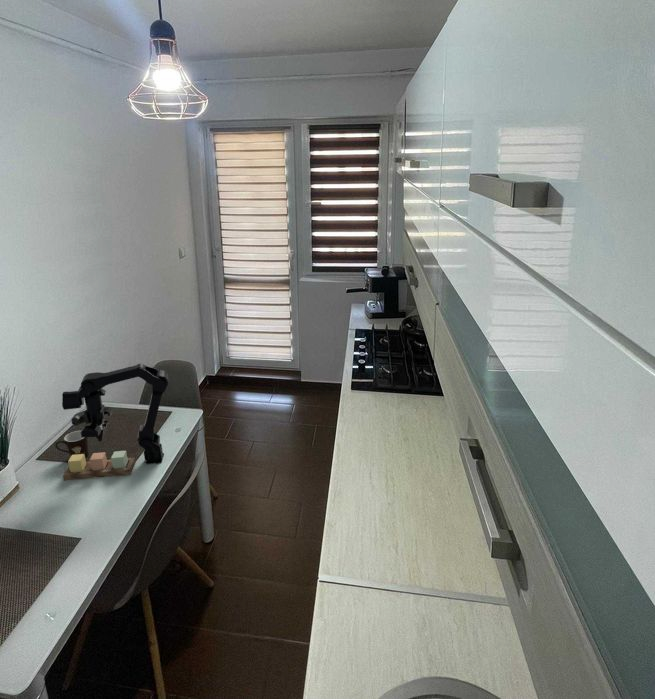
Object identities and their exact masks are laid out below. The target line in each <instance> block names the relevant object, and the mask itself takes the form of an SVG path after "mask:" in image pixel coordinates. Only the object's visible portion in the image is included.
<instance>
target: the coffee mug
mask: <svg viewBox="0 0 655 699" xmlns="http://www.w3.org/2000/svg"><path fill="white" fill-rule="evenodd" d="M81 431H82V430H74V431H72V432H70V433H68V434H66V435H65V436H64V437H63V440H59V441H57V442H56V443H55V448H56V449H57V450H59V451H61V452H63V453H67V454H69V455H70V457H71V456H72V455H77V454H84V455H85V459H87V458H89V454H90V453H89V441H88V438H89V437H81V433H80V432H81ZM61 443H63V444H64V445H65V446H66V447H67V450H65V449H61V448H60V447H58V444H61Z"/></svg>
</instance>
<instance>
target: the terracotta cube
mask: <svg viewBox="0 0 655 699" xmlns="http://www.w3.org/2000/svg"><path fill="white" fill-rule="evenodd" d="M106 454H107V453H106V452H105V451H104V452H93V453H92V455H91V456H90V458H89V461H90V464H91V468H92V471H93V470H94V471H96V470H105V469H106V465H107V460H108V459H107V455H106Z"/></svg>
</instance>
